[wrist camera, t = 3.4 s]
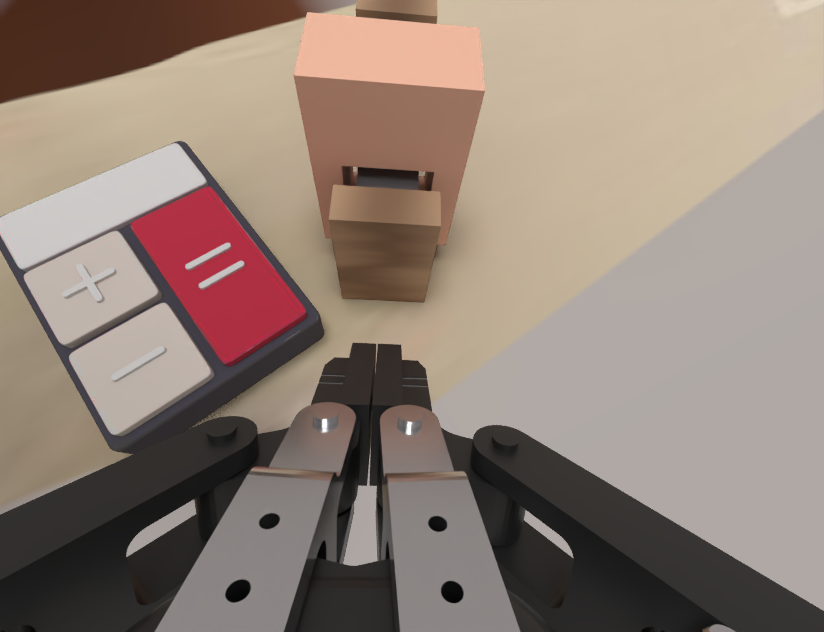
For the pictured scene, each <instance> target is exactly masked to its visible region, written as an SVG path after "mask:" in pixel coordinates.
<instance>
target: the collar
mask: <svg viewBox="0 0 824 632" xmlns="http://www.w3.org/2000/svg"><path fill="white" fill-rule="evenodd" d="M294 79H295V84H296V89H297V95H298V100H299V105H300V110H301V115H302V120H303V125H304V130H305V135H306V140H307V145H308V150H309V156H310V161H311V166H312V171H313V176H314V181H315V186H316V191H317V196H318V201H319V206H320V212H321V217H322V222H323V227H324V232H325V237H326V238H332V236H331V230H330V224H329V213H330V205H331V198H332V190H333V185H345V186H356V183H357V173H358V172H353V167H366V168H381V169H396V170H410V171H425V172H426V173H425V176H419V181H418V190H421V191H436V192H440V196H441V229H440V233H439V238H438V242H437V244H440V245H446V241H447V237H448V233H449V229H450V225H451V221H452V217H453V213H454V209H455V206H456V202H457V198H458V194H459V190H460V186H461V182H462V178H463V174H464V170H465V167H466V163H467V159H468V155H469V151H470V147H471V143H472V139H473V135H474V131H475V128H476V124H477V120H478V116H479V112H480V108H481V104H482V100H483V96H484V92H485V86H484V76H483V65H482V54H481V43H480V32H479V28H474V27H463V26H452V25H441V24H430V23H419V22H408V21H397V20H386V19H375V18H364V17H353V16H342V15H331V14H320V13H309V12H308V13H307V16H306V21H305V25H304V30H303V35H302V39H301V44H300V49H299V53H298V58H297V62H296V67H295V72H294Z"/></svg>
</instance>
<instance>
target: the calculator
mask: <svg viewBox="0 0 824 632" xmlns="http://www.w3.org/2000/svg"><path fill="white" fill-rule="evenodd" d="M0 250H1V252H2V254H3V256H4V258H5V259H6V261H7V263H8V265H9V267H10V268H11V270H12V272H13V274H14V276H15V277H16V279H17V281H18V283H19V285H20V286H21V288H22V290H23V292H24V294H25V295H26V297H27V299H28V301H29V303H30V305H31V306H32V308H33V310H34V312H35V314H36V315H37V317H38V319H39V321H40V323H41V324H42V326H43V328H44V330H45V332H46V333H47V335H48V337H49V339H50V341H51V342H52V344H53V346H54V348H55V350H56V352H57V353H58V355H59V357H60V359H61V361H62V362H63V364H64V366H65V368H66V370H67V371H68V373H69V375H70V377H71V379H72V380H73V382H74V384H75V386H76V388H77V389H78V391H79V393H80V395H81V397H82V399H83V400H84V402H85V404H86V406H87V408H88V409H89V411H90V413H91V415H92V417H93V418H94V420H95V422H96V424H97V426H98V427H99V429H100V431H101V433H102V435H103V436H104V438H105V440H106V442H107V444H108V445H109V447H110V448H111V449H112V450H114V451H117V452H123V453H129V454H136V453H138V452H140V451H142V450H145V449H147V448H149V447H151V446H154V445H156V444H158V443H160V442H162V441H165V440H167V439H169V438H171V437H173V436H176V435H178V434H180V433H182V432H184V431H186V430H187V429H189V428H190V427H192V426H193V425H195V424H196V423H198V422H199V421H201V420H202V419H204V418H205V417H207V416H208V415H210V414H211V413H213V412H214V411H215V410H217V409H218V408H220V407H221V406H223V405H224V404H226V403H227V402H229V401H230V400H232V399H233V398H235V397H236V396H238V395H239V394H241V393H242V392H244V391H245V390H246V389H248V388H249V387H251V386H252V385H254V384H255V383H257V382H258V381H260V380H261V379H263V378H264V377H266V376H267V375H269V374H270V373H272V372H273V371H275V370H276V369H277V368H279V367H280V366H282V365H283V364H285V363H286V362H288V361H289V360H291V359H292V358H294V357H295V356H297V355H298V354H300V353H301V352H303V351H304V350H306V349H307V348H308V347H310V346H311V345H313V344H314V343H316V342H317V341H319V340H320V339H321V338H322V337H323V335H324V330H323V326H322V322H321V318H320V315H319V313H318V311H317V310H316V308H315V307H314V306H313V305H312V303H311V302H310V301H309V300H308V298H307V297H306V296H305V294H304V293H303V292H302V291H301V289H300V288H299V287H298V285H297V284H296V283H295V282H294V280H293V279H292V278H291V276H290V275H289V274H288V273H287V271H286V270H285V269H284V268H283V266H282V265H281V264H280V262H279V261H278V260H277V259H276V257H275V256H274V255H273V253H272V252H271V251H270V250H269V248H268V247H267V246H266V244H265V243H264V242H263V241H262V239H261V238H260V237H259V236H258V234H257V233H256V232H255V230H254V229H253V228H252V227H251V225H250V224H249V223H248V221H247V220H246V219H245V218H244V216H243V215H242V214H241V212H240V211H239V210H238V209H237V207H236V206H235V205H234V204H233V202H232V201H231V200H230V198H229V197H228V196H227V195H226V193H225V192H224V191H223V189H222V188H221V187H220V186H219V184H218V183H217V182H216V180H215V179H214V178H213V177H212V175H211V174H210V173H209V172H208V170H207V169H206V168H205V166H204V165H203V164H202V163H201V161H200V160H199V159H198V157H197V156H196V155H195V154H194V152H193V151H192V150H191V148H190V147H189V146H188V145H187V144H186V143H185V142H182V141H177V142H174V143H172V144H170V145H167V146H165V147H163V148H160V149H158V150H155V151H153V152H151V153H148V154H146V155H144V156H141V157H139V158H137V159H134V160H132V161H130V162H127V163H125V164H123V165H120V166H118V167H116V168H113V169H111V170H109V171H106V172H104V173H102V174H99V175H97V176H95V177H92V178H90V179H88V180H85V181H83V182H80V183H78V184H76V185H73V186H71V187H69V188H66V189H64V190H62V191H59V192H57V193H55V194H52V195H50V196H48V197H45V198H43V199H41V200H38V201H36V202H34V203H31V204H29V205H27V206H24V207H22V208H20V209H17V210H15V211H13V212H10V213H8V214H5V215H3V216H1V217H0Z"/></svg>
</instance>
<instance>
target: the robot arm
mask: <svg viewBox="0 0 824 632" xmlns="http://www.w3.org/2000/svg"><path fill="white" fill-rule="evenodd" d="M375 365H376V373H375ZM371 432H372V433H371ZM370 443H371V460H370V485H371V486H372V485H373V486H377V498H376V531H377V557H378V561H376V562H373V563H368V564H364V565H359V566H348V565H344V564H343V561H344V556H345V552H346V547H347V542H348V537H349V532H350V528H351V523H352V519H353V514H354V501H355V499H356V496H357V490H358V485H365V486H366V485H367V478H368V465H369V455H370ZM193 499H194V500H195V507H196V513H197V514H196V515H194V516H192V517H191V518H189V519H188V520H186V521H184V522H183V523H181V524H180V525H178V526H176V527H175V528H173V529H172V530H170V531H168V532H167V533H165V534H164V535H162V536H160V537H159V538H157V539H155V540H154V541H152V542H151V543H149V544H147V545H146V546H144V547H143V548H141V549H139V550H138V551H136V552H135V553H133V554H132V555H130V556H128V557H126V552H127V548H128V546H129V544H130V542H131V541H132V540H133V538H134V537H135V536H136V535H137V534H138V533H139V532H140V531H142V530H143V529H144V528H146V527H147V526H149V525H150V524H152V523H154V522H156V521H158V520H159V519H161V518H162V517H164V516H166V515H168V514H169V513H171V512H173V511H174V510H176V509H178V508H180V507H181V506H183V505H185V504H186V503H188V502H190V501H191V500H193ZM525 510H527V511H529V512H530V513H531V514H532V515H534V516H535V517H536V518H538V519H539V520H540V521H542V522H543V523H544V524H546V525H547V526H549V527H550V528H551V529H552V530H554V531H555V532H556V533H558V534H559V535H560V536H562V538H564V540H565V541H566V542H567V543H568V545H569V546H570V548H571V550H572V553H573V557H574V559H573V558H572V557H571V556H569V555H568V554H567V553H565V552H564V551H563V550H561V549H560V548H559V547H558V546H556V545H555V544H554V543H552V542H551V541H550V540H548V539H547V538H546V537H545V536H543V535H542V534H541V533H540V532H538V531H537V530H536V529H534V528H533V527H532V526H530V525H529V524H528V523H527V522H525V521H524V515H525ZM0 632H824V611H823V610H821V609H819V608H818V607H816V606H814V605H813V604H810V603H809V602H807V601H806V600H804V599H802V598H801V597H799V596H797V595H796V594H794V593H792V592H790V591H789V590H787V589H786V588H784V587H782V586H780V585H779V584H777V583H775V582H774V581H772V580H770V579H769V578H767V577H765V576H764V575H762V574H760V573H759V572H757V571H755V570H753V569H752V568H750V567H749V566H747V565H745V564H743V563H742V562H740V561H738V560H736V559H735V558H733V557H732V556H730V555H728V554H727V553H725V552H723V551H722V550H720V549H718V548H717V547H715V546H713V545H711V544H710V543H708V542H706V541H705V540H703V539H701V538H700V537H698V536H696V535H695V534H693V533H691V532H690V531H688V530H686V529H685V528H683V527H681V526H679V525H678V524H676V523H674V522H673V521H671V520H669V519H668V518H666V517H664V516H662V515H661V514H659V513H658V512H656V511H654V510H653V509H651V508H649V507H647V506H646V505H644V504H642V503H641V502H639V501H637V500H636V499H634V498H632V497H631V496H629V495H627V494H625V493H624V492H622V491H621V490H619V489H617V488H615V487H614V486H612V485H610V484H609V483H607V482H605V481H604V480H602V479H600V478H599V477H597V476H595V475H594V474H592V473H590V472H589V471H587V470H585V469H584V468H582V467H580V466H578V465H577V464H575V463H573V462H572V461H570V460H568V459H567V458H565V457H563V456H562V455H560V454H558V453H557V452H555V451H553V450H551V449H550V448H548V447H547V446H545V445H543V444H541V443H540V442H538V441H536V440H535V439H533V438H531V437H530V436H528V435H526V434H525V433H523V432H521V431H519V430H517V429H514V428H511V427H507V426H501V425H491V426H486V427H483V428H480V429H479V430H477V432H476V433H475V434H474V437H473V439H469V438H465V437H461V436H458V435H454V434H452V433H449V432H447V431H446V430H444V429H442V428H441V426H440V423H439V420H438V418H437V416H436V415H435V414H434V413H432V408H431V401H430V395H429V389H428V382H427V376H426V370H425V368H424V367H423V366H422V365H421V364H420V363H419V362H418V361H411V360H402V354H401V345H393V344H378V351H377V362H376V344H368V343H353V344H352V348H351V352H350V357H349V358H333V359H332V360H331V361H329V362H328V363H327V364H326V365H325V366H324V369H323V372H322V376H321V378H320V380H319V383H318V386H317V389H316V392H315V395H314V397H313V400H312V403H311V405H310V406H307V407H305V408H304V409H302V410H301V411H300V412H299V413H298V414H297V415H296V417H295V418H294V420H293V422H292V424H291V426H290V427H289V428H286V429H283V430H278V431H273V432H267V433H261V434H258V431H257V426H256V424H255V423H254V422H253V421H251V420H249V419H247V418H244V417H238V416H227V417H220V418H216V419H212V420H209V421H207V422H204V423H202V424H200V425H198V426H196V427H193V428H191V429H189V430H187V431H184V432H182V433H180V434H178V435H176V436H173V437H171V438H169V439H167V440H165V441H162V442H160V443H158V444H156V445H154V446H151V447H149V448H147V449H145V450H142V451H140V452H138V453H136V454H134V455H131V456H129V457H127V458H125V459H123V460H120V461H118V462H116V463H114V464H111V465H109V466H107V467H105V468H103V469H100V470H98V471H96V472H94V473H92V474H89V475H87V476H85V477H83V478H81V479H78V480H76V481H74V482H72V483H69V484H67V485H65V486H63V487H61V488H58V489H56V490H54V491H52V492H50V493H47V494H45V495H43V496H41V497H39V498H36V499H34V500H32V501H30V502H27V503H26V504H23V505H21V506H19V507H17V508H14V509H12V510H10V511H8V512H5V513H3V514H1V515H0Z"/></svg>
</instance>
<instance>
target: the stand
mask: <svg viewBox="0 0 824 632" xmlns="http://www.w3.org/2000/svg"><path fill="white" fill-rule="evenodd" d="M356 17H364V18H375V19H386V20H397V21H408V22H419V23H430V24H436V23H437V0H357V4H356ZM329 224H330V230H331V236H332V241H333V247H334V253H335V259H336V264H337V270H338V276H339V282H340V288H341V293H342V298H349V299H370V300H390V301H411V302H424V300H425V296H426V291H427V287H428V282H429V278H430V273H431V269H432V264H433V260H434V255H435V251H436V247H437V242H438V238H439V233H440V229H441V196H440V192H436V191H421V190H406V189H391V188H375V187H360V186H345V185H333V190H332V198H331V205H330V213H329Z"/></svg>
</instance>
